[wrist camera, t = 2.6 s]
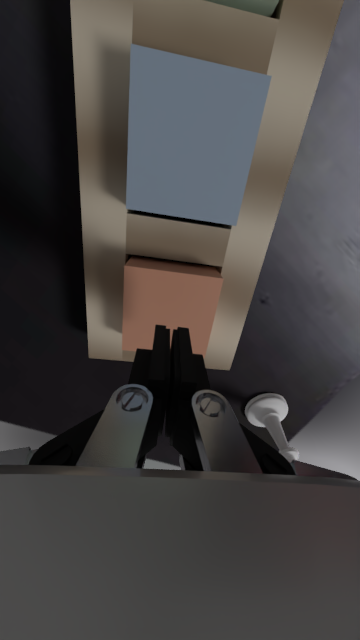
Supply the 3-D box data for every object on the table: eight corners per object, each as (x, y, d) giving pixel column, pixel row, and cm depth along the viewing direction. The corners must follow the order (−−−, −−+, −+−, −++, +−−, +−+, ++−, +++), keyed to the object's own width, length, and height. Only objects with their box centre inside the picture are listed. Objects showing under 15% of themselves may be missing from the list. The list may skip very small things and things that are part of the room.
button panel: (82, -343, 8) (37, -626, 5) (381, -226, 9) (469, -407, 6) (99, 338, 21) (88, 357, 18) (222, 350, 22) (229, 370, 19)
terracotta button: (132, 255, 16) (124, 265, 13) (214, 266, 16) (223, 278, 13) (128, 329, 18) (121, 350, 15) (199, 336, 19) (204, 358, 16)
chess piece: (243, 396, 25) (284, 500, 16) (287, 389, 25) (352, 491, 16) (245, 424, 27) (281, 530, 18) (285, 418, 27) (342, 522, 18)
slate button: (139, 81, 12) (130, 43, 9) (249, 105, 12) (271, 75, 9) (134, 208, 14) (125, 208, 12) (224, 222, 15) (236, 226, 12)
